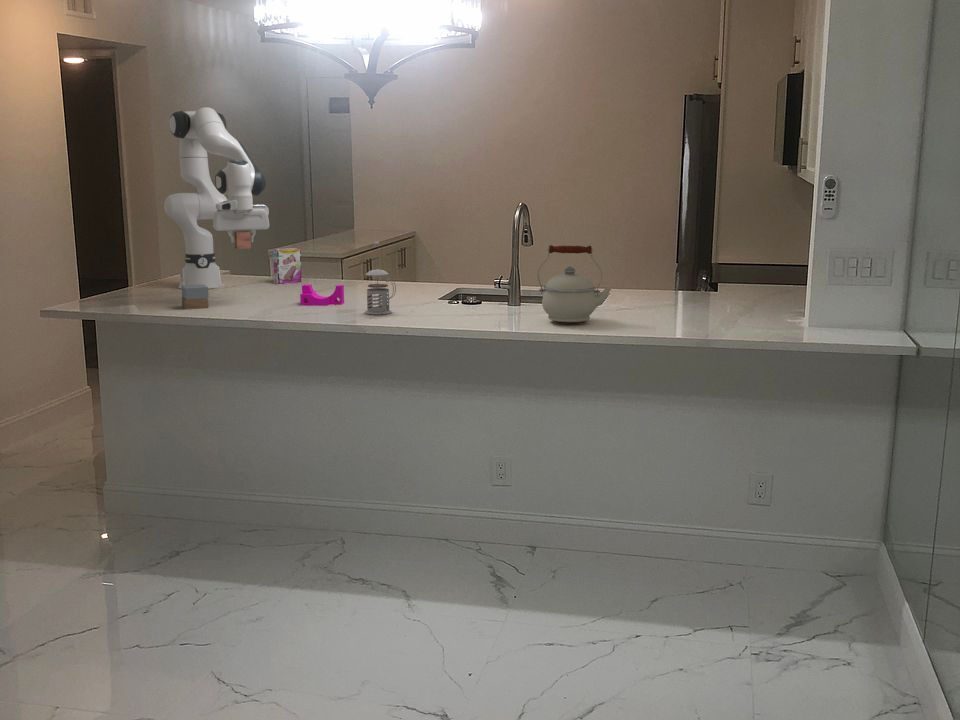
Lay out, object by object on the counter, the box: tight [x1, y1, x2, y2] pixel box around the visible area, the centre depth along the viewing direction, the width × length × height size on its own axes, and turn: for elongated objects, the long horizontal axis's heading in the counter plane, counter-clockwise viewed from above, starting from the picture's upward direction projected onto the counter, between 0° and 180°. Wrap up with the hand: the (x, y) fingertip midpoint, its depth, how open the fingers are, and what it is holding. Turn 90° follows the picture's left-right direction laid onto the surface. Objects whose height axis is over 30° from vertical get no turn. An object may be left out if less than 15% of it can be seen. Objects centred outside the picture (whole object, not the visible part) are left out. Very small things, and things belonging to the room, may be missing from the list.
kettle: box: [536, 244, 612, 323], centre depth 317 cm, size 25×18×25 cm
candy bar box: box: [272, 247, 302, 285], centre depth 401 cm, size 11×5×16 cm, turn 130°
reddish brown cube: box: [233, 230, 252, 250], centre depth 349 cm, size 5×5×6 cm
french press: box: [364, 241, 397, 315], centre depth 331 cm, size 10×12×25 cm
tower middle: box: [181, 285, 210, 299], centre depth 344 cm, size 8×8×4 cm
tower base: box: [181, 296, 209, 310], centre depth 345 cm, size 8×8×4 cm
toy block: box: [299, 283, 345, 307], centre depth 350 cm, size 15×6×8 cm, turn 84°
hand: (242, 242), depth 349 cm, fingers closed on reddish brown cube, 5 cm apart
